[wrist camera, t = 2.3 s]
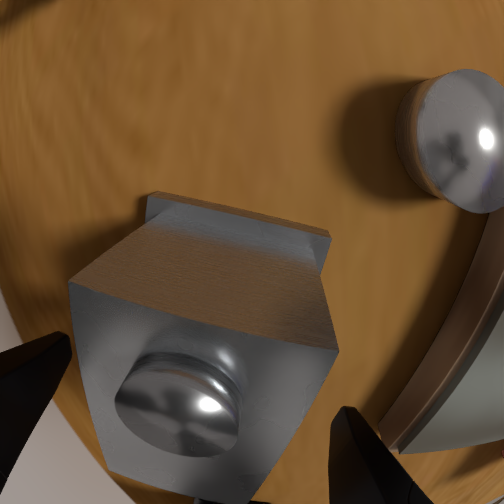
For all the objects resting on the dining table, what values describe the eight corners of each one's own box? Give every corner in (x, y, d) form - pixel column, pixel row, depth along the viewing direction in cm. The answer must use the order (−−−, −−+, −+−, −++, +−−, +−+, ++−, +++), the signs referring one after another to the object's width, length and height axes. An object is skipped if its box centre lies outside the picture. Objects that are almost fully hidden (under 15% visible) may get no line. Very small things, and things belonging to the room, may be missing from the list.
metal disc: (472, 211, 9) (508, 230, 7) (380, 175, 9) (407, 186, 7) (495, 110, 8) (533, 109, 6) (405, 60, 8) (435, 44, 6)
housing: (265, 403, 14) (253, 529, 7) (146, 373, 14) (91, 484, 7) (327, 229, 10) (389, 363, 4) (159, 190, 10) (19, 267, 4)
